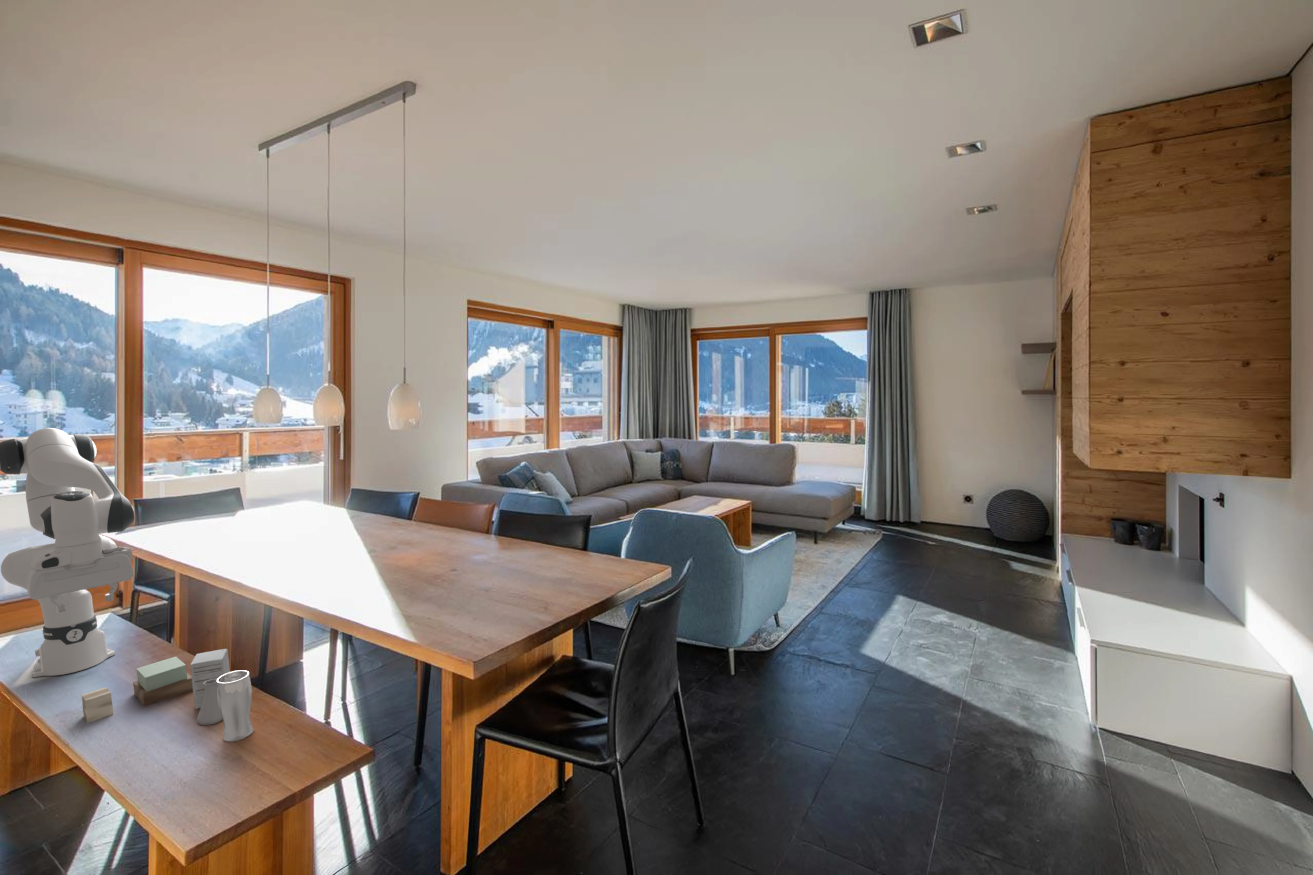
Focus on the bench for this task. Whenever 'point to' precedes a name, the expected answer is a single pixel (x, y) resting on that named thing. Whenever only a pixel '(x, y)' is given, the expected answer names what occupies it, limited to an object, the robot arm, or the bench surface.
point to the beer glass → (235, 704)
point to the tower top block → (161, 673)
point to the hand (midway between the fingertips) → (85, 605)
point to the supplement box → (207, 671)
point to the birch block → (97, 704)
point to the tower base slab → (162, 691)
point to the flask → (209, 705)
